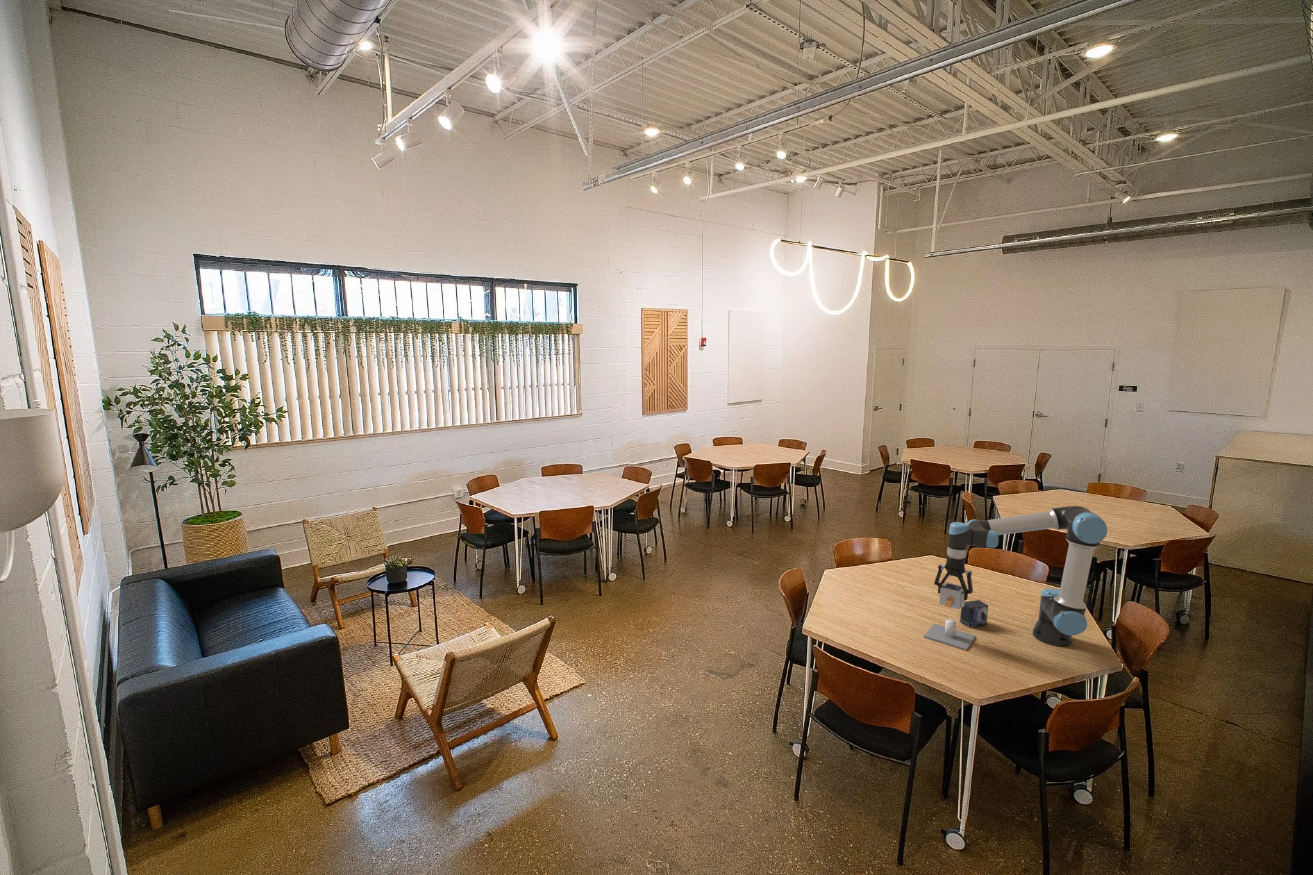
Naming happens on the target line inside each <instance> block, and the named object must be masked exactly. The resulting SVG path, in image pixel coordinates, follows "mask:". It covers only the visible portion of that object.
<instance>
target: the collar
mask: <svg viewBox="0 0 1313 875" xmlns="http://www.w3.org/2000/svg"><path fill="white" fill-rule="evenodd" d="M963 592H964V591H963V589H962V586H961V584H960V585H959V584H955V583H951V582H948V581H945V582H944V584H943V585H942V587H941V590H940V594H939V600H940V601H939V604H938V605H941V606H944V607H947V608H953V609H956V610H961V601H962V593H963Z"/></svg>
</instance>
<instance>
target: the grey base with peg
mask: <svg viewBox="0 0 1313 875" xmlns="http://www.w3.org/2000/svg"><path fill="white" fill-rule="evenodd" d="M932 624H933V625H932V626H931V627H930V628H929V629H928V630H927V631H926V633H925V634H923V638H925V639H928V640H930V641H934V642H937V643H941V644H944V645H946V646H947V645H948V646H950V647H954V648H957V649H960V650H962V651H967V650H968V649H969V647H970V646H971V645H972V643H973V641H974V640H975V638H976V635H975V634H972V633H970V632H969V633H968V632H964V631H961V630H958V629H957V628H956V627H957V622H956V621H955V620H953V619H950V618H949V619H945V624H944V625H942V624H941V625H940V624H937V623H932Z"/></svg>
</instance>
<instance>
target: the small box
mask: <svg viewBox="0 0 1313 875" xmlns="http://www.w3.org/2000/svg"><path fill="white" fill-rule="evenodd" d="M988 612H989V605H988V604H986V603H985V602H983V601H982V600H981V599H976V600H975V599H974V600H969V601H965V603H964V607H961V608H960V618H959V623H961V624H963V625H965V627H968V628H973V627H974V628H975V627H981V626H987V620H988Z"/></svg>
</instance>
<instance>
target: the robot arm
mask: <svg viewBox="0 0 1313 875" xmlns="http://www.w3.org/2000/svg"><path fill="white" fill-rule="evenodd" d="M1049 529H1050V530H1051V529H1054V530H1055V531H1058V530H1059V531H1060V530H1066V535H1065V536H1066V537H1065V540H1066V541H1067V542H1068V548H1067V553H1066V558H1065V564H1064V568H1063V574H1062V578H1061V582H1060V586H1059V587H1060V588H1059V589H1057V588H1056V589H1055V588H1044V589H1042V590H1041V594H1040V601H1039V602H1040V603H1039V610H1038V611H1039V612H1038V619H1037V621H1036V622H1035V624H1034V626H1033V628H1032V636H1033V637H1034V638H1036V640H1038V641H1041V642H1042V643H1046V644H1049V645H1050V646H1051V645H1052V646H1057V647H1068V646H1071V645H1072V644H1073V636H1077V635H1080V634H1082V633H1084V632H1085V631H1086V630H1087V627H1088V621H1087V618H1086V616H1085V615H1086V611H1087V605H1086V603H1085V602H1084V596H1085V592H1086V588H1087V584H1088V578H1089V574H1090V569H1091V565H1092V559H1093V554H1094V552H1095V551H1094V550H1096V549H1097V548H1099V547H1100V543H1101V541H1103V540H1104V539H1105V538H1106V537H1107V534H1108V526H1107V523H1106V521H1104V520H1103V518H1102V517H1101V516H1099V515H1098V514H1096V513H1094V512H1092V511H1091V510H1090V509H1088V508H1086V507H1085V506H1080V505H1069V506H1060V507H1053V508H1050V509H1049V510H1048V511H1044V512H1043V511H1042V512H1036V513H1035V512H1034V513H1029V514H1027V513H1026V514H1021V515H1015V516H1007V517H1000V518H999V517H998V518H993V519H988V520H987V519H986V520H985V519H984V520H979V519H970V520H969V521H967V522H966V523H965V522H959V521H953V522H951V523H950V524H949V529H948V540H947V541H948V542H947V549H946V550H947V551H946V560H945V562H946V563H945V564H942V563H940V564H938V566H937V569H938V571H937V574H936V577H935V579H934V583H933V584H934V585H935V586H937V587H938V588H937V594H939V595H940V590H941V587H942V586H943V585H944V584H945V582H947V580H948V578H949V577H950V576H951V577H954V578H957V579H958V580H959V581H958V582H959V584H960V586H962V589H963V591H964V592H963V593H962V601H961V607H964V603H965V602H966V601H967V600H968V597H969V595H971V594H973V592H974V589H973V581H972V574H973V571H972V570H967V569H966V568H965V567H966V556H967V546H971V547H981V548H986V549H989V548H993V549H994V548H996V547H998V545H999V536H1001V535H1003V536H1004V535H1010V534H1017V533H1024V532H1025V533H1026V532H1027V533H1028V532H1034V531H1040V530H1041V531H1042V530H1049ZM944 569H945V570H946V574H945V575H944V577H943V578H942V579H941V575H942V574H943V571H944ZM963 574H965V576H966V581H967V584H966V581H965V580H964V575H963ZM940 579H941V581H940ZM938 601H939V602H940V599H939V600H938Z"/></svg>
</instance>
